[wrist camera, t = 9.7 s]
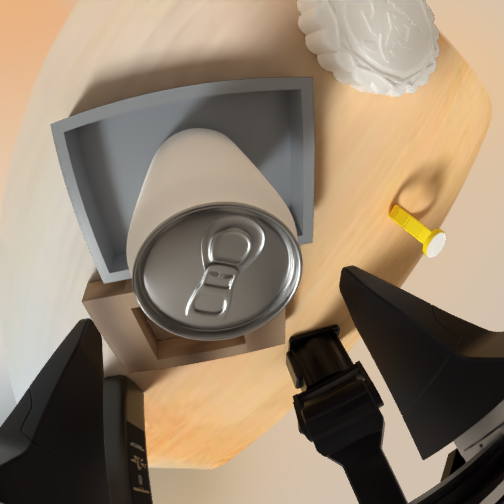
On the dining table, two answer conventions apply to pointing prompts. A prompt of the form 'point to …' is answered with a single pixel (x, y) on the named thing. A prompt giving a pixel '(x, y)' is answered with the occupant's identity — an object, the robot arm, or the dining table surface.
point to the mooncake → (372, 42)
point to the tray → (166, 125)
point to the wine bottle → (125, 442)
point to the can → (210, 241)
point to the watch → (419, 231)
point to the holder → (165, 351)
